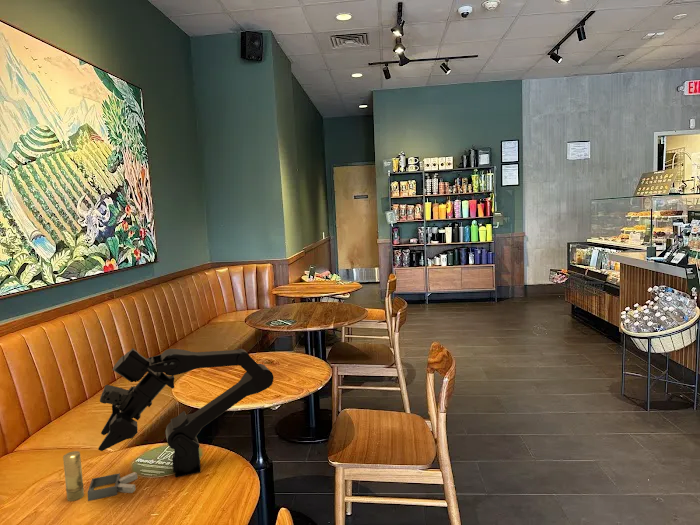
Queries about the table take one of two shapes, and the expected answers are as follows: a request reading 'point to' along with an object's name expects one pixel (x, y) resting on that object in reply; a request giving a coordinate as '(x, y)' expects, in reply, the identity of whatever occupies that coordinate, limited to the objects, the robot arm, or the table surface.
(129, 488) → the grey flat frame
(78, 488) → the gold metal cylinder
